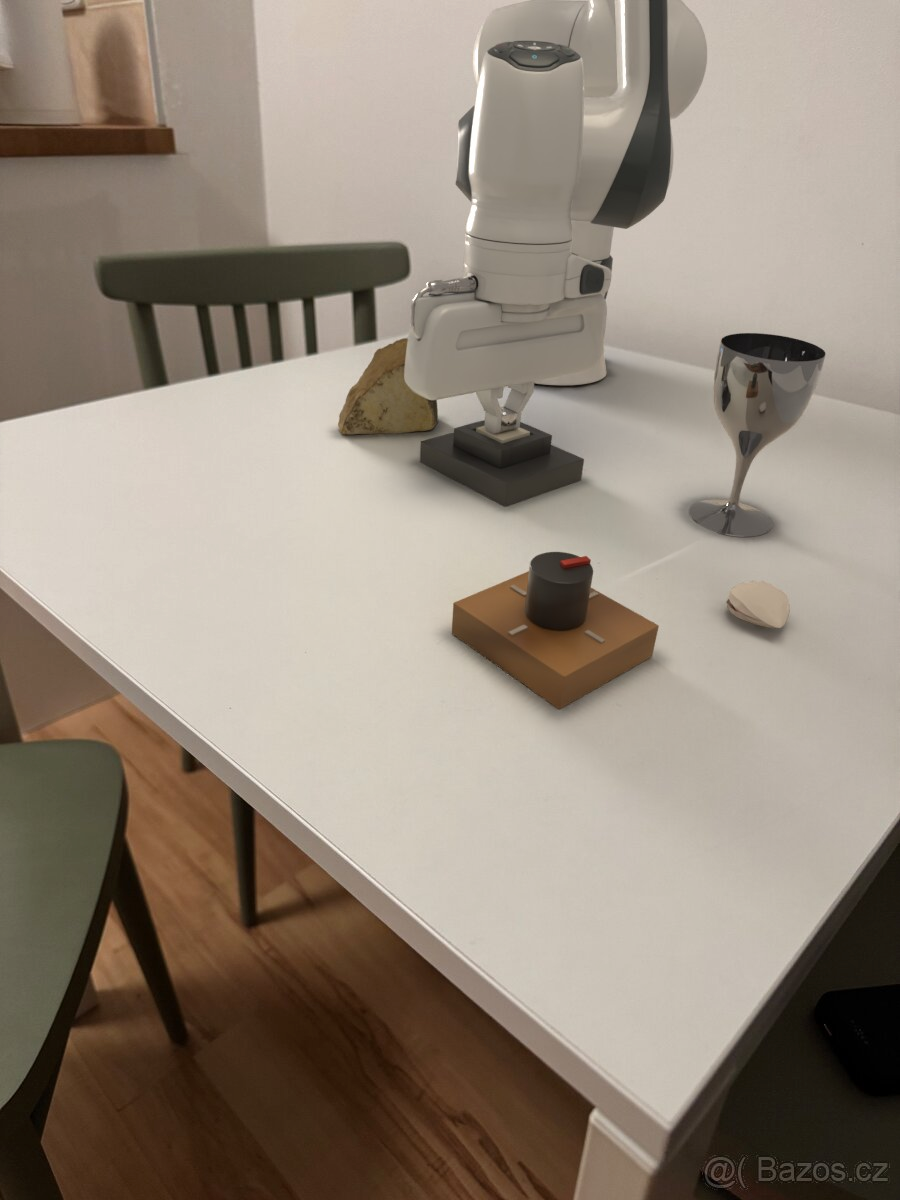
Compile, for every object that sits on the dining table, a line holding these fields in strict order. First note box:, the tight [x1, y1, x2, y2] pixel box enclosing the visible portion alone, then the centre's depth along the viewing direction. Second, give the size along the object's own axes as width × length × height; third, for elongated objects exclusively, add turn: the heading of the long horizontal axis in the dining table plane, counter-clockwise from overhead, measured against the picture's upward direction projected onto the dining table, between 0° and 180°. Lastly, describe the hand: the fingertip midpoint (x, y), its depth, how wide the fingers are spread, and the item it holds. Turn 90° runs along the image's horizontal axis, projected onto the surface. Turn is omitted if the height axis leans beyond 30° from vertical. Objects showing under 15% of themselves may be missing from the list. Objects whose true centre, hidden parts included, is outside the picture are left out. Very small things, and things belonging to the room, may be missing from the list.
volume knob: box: [525, 551, 594, 630], centre depth 54 cm, size 4×4×4 cm
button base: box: [419, 419, 585, 507], centre depth 79 cm, size 12×10×4 cm
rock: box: [337, 337, 439, 435], centre depth 87 cm, size 11×9×10 cm
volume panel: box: [451, 570, 659, 710], centre depth 55 cm, size 10×9×3 cm
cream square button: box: [476, 426, 530, 444], centre depth 78 cm, size 4×4×2 cm
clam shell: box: [726, 580, 791, 629], centre depth 59 cm, size 4×5×2 cm
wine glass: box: [688, 332, 826, 538], centre depth 70 cm, size 8×8×15 cm
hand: (501, 429), depth 78 cm, fingers closed, pressing on cream square button
